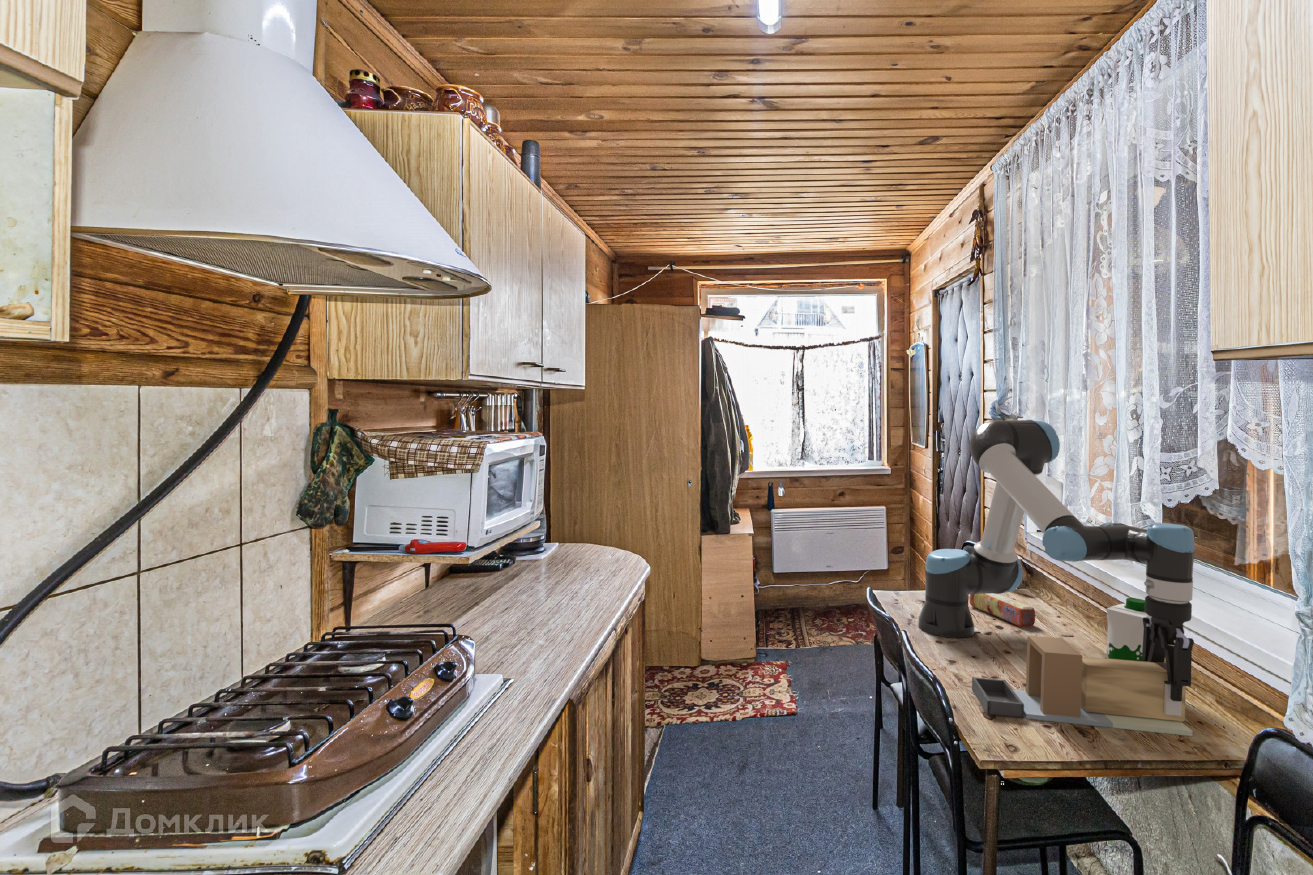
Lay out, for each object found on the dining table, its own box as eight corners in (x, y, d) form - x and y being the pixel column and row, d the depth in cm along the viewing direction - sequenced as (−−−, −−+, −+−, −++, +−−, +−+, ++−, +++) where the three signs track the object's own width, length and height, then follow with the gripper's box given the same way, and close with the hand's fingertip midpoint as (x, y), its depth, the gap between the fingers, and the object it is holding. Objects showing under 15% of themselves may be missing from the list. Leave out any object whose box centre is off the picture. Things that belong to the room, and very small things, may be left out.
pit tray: (971, 689, 142) (972, 677, 142) (1004, 692, 141) (1005, 680, 141) (987, 714, 131) (987, 700, 131) (1023, 718, 129) (1024, 704, 129)
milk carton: (1160, 687, 144) (1163, 603, 143) (1141, 696, 140) (1145, 609, 139) (1117, 673, 152) (1120, 594, 151) (1098, 681, 147) (1101, 599, 146)
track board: (1007, 693, 141) (1009, 632, 140) (1158, 707, 134) (1160, 644, 133) (1026, 718, 129) (1028, 652, 128) (1192, 736, 122) (1195, 666, 122)
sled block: (1075, 700, 134) (1076, 654, 134) (1170, 709, 130) (1172, 662, 130) (1085, 711, 130) (1087, 664, 129) (1184, 721, 125) (1186, 672, 125)
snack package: (1037, 627, 185) (1038, 605, 185) (1019, 629, 184) (1020, 606, 183) (984, 605, 206) (984, 585, 205) (967, 607, 204) (968, 587, 204)
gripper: (1124, 585, 137) (1121, 686, 138) (1173, 610, 119) (1168, 727, 120) (1163, 587, 136) (1159, 690, 136) (1218, 613, 118) (1213, 731, 119)
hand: (1163, 707), depth 128 cm, fingers open, 5 cm apart
